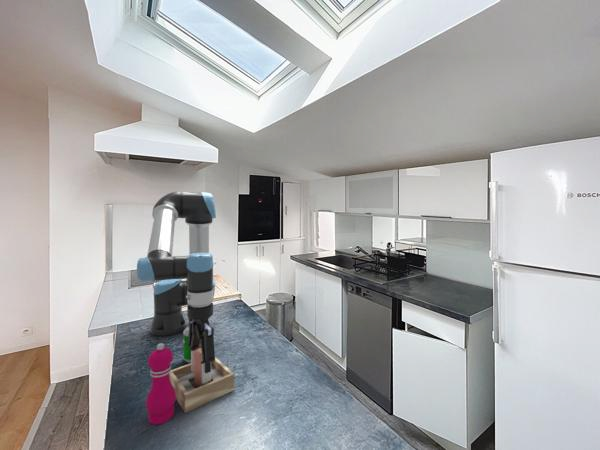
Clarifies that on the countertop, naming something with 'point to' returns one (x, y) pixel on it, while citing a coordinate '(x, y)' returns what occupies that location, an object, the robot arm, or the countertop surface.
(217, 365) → the box
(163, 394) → the pepper mill
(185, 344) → the soda can
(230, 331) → the countertop surface
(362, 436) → the countertop surface
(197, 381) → the peg
